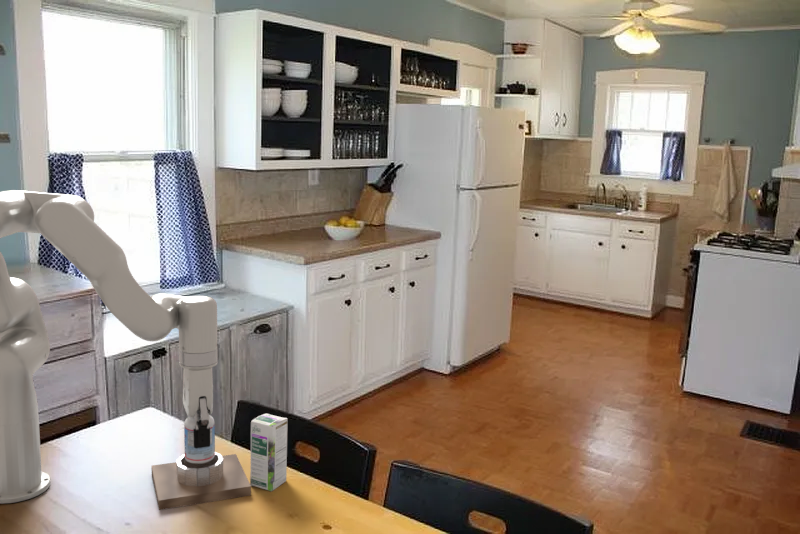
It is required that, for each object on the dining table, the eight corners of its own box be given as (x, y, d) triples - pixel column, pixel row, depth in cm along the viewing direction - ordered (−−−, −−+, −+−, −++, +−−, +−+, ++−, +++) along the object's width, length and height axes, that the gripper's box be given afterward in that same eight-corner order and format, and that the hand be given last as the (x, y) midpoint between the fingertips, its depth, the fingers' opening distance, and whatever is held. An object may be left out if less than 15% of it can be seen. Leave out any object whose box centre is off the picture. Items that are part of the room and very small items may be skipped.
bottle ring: (180, 489, 146) (179, 472, 145) (174, 469, 154) (174, 454, 154) (226, 482, 150) (226, 466, 149) (218, 463, 158) (218, 448, 157)
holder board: (158, 510, 142) (158, 500, 141) (151, 474, 156) (151, 465, 156) (250, 495, 149) (250, 486, 148) (235, 462, 163) (235, 454, 163)
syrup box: (249, 485, 153) (249, 420, 150) (265, 474, 158) (266, 411, 155) (271, 492, 150) (272, 426, 148) (287, 480, 155) (288, 416, 153)
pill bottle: (192, 450, 155) (191, 400, 153) (219, 453, 154) (219, 403, 152) (179, 463, 149) (178, 411, 147) (208, 466, 148) (207, 413, 146)
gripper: (174, 346, 154) (175, 426, 157) (184, 371, 138) (186, 460, 141) (210, 344, 157) (211, 422, 160) (224, 368, 141) (225, 454, 144)
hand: (199, 439), depth 151 cm, fingers closed on pill bottle, 6 cm apart
